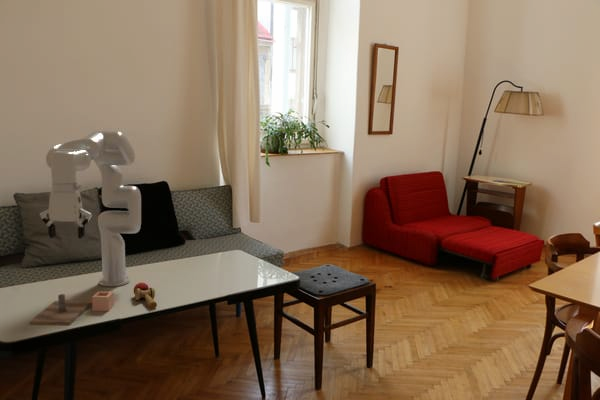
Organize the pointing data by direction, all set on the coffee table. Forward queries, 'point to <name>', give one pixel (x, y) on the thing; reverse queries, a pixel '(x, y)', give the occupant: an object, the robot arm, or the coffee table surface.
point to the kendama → (145, 294)
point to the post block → (61, 312)
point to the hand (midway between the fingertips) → (67, 237)
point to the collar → (103, 301)
